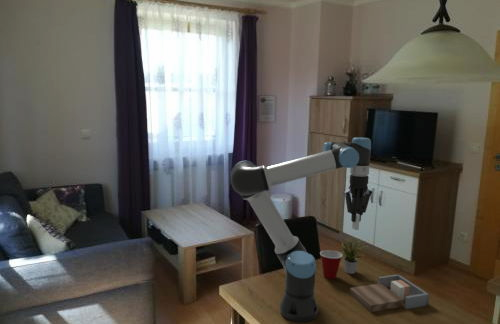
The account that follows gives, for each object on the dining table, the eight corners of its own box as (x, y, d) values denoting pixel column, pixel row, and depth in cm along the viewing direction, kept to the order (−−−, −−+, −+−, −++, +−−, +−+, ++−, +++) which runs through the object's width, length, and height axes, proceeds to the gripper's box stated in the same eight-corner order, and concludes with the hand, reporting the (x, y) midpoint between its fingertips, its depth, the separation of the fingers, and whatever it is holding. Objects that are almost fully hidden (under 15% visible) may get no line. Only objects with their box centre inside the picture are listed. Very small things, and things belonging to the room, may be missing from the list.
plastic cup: (339, 272, 191) (341, 249, 189) (342, 282, 180) (344, 258, 178) (317, 270, 192) (318, 248, 190) (319, 281, 181) (320, 257, 179)
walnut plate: (370, 312, 156) (370, 305, 155) (349, 294, 170) (350, 287, 169) (402, 306, 161) (403, 299, 160) (380, 289, 175) (380, 283, 174)
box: (406, 309, 159) (407, 297, 158) (377, 287, 177) (378, 277, 176) (427, 305, 162) (429, 294, 161) (397, 284, 180) (398, 274, 179)
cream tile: (400, 287, 165) (405, 287, 165) (391, 281, 170) (395, 280, 171) (398, 300, 166) (403, 299, 166) (389, 293, 171) (394, 293, 172)
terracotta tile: (405, 286, 165) (410, 286, 166) (396, 280, 171) (400, 279, 172) (404, 299, 166) (408, 298, 167) (394, 293, 172) (399, 292, 173)
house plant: (367, 267, 197) (369, 237, 194) (367, 279, 184) (370, 247, 181) (338, 263, 201) (340, 233, 198) (337, 275, 188) (339, 243, 185)
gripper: (350, 177, 155) (346, 233, 159) (378, 175, 159) (373, 230, 163) (340, 173, 162) (337, 227, 166) (367, 172, 166) (363, 224, 170)
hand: (355, 228), depth 164 cm, fingers closed
